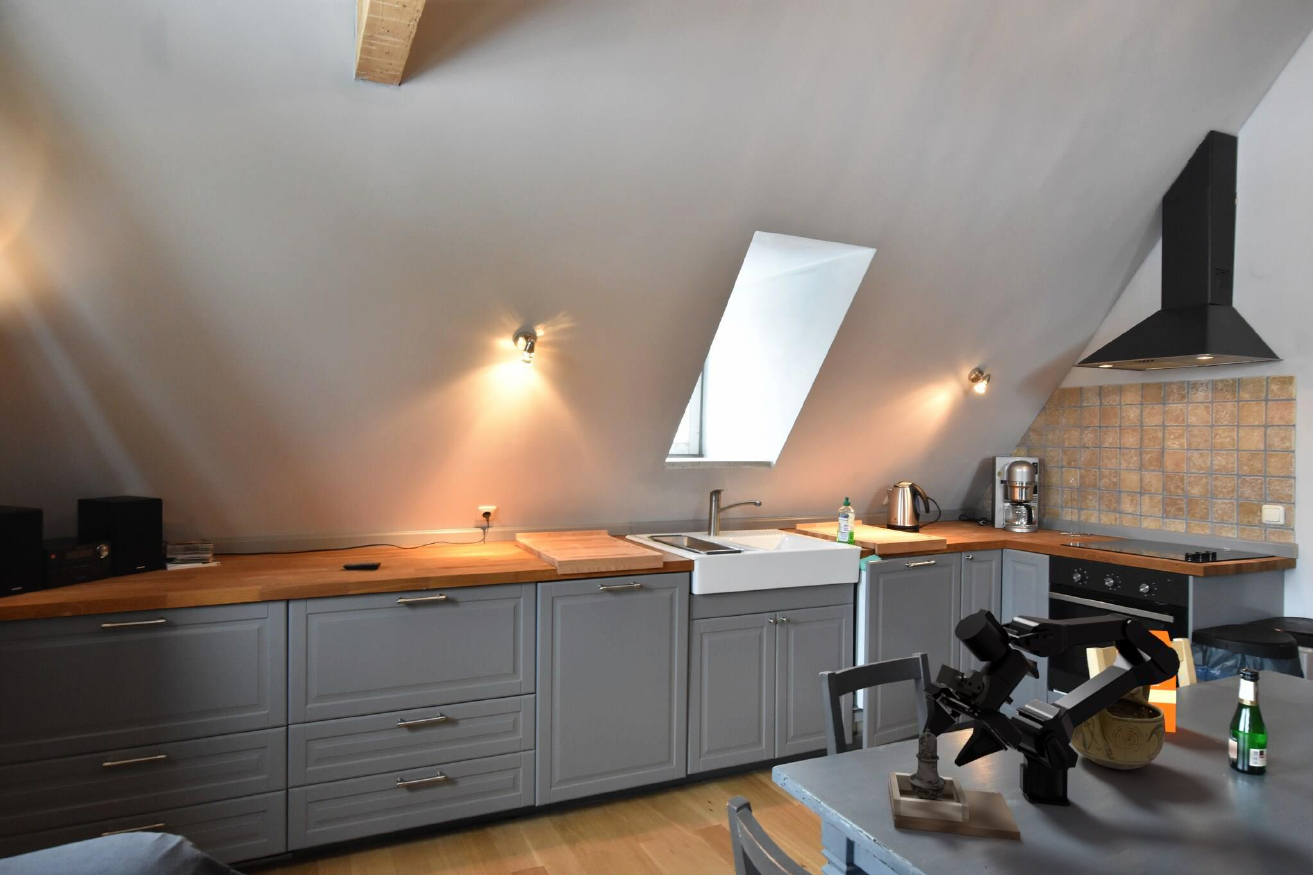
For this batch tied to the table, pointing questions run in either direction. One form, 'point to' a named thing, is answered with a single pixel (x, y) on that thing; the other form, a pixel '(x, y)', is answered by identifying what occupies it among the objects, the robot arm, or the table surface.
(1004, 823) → the board
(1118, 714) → the ceramic bowl
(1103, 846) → the table surface
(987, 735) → the robot arm
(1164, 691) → the orange juice
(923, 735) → the salt shaker
